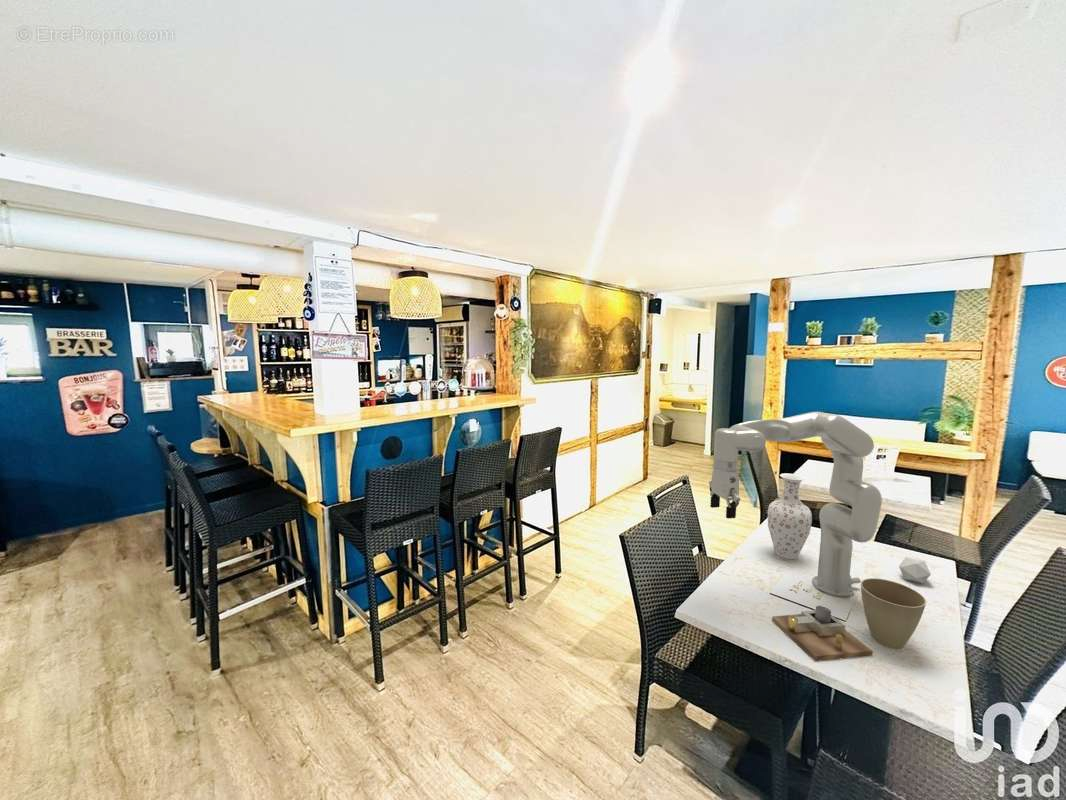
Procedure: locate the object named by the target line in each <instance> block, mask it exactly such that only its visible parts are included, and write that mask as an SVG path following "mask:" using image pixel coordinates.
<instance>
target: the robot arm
mask: <svg viewBox="0 0 1066 800" xmlns="http://www.w3.org/2000/svg"><path fill="white" fill-rule="evenodd" d="M815 437H817V438H818V437H820V438H821V442H822V444H823V445H824V446H825V448H827V450H829V452H830V453H831V455H832V459H833V467H832V473H831V478H830V481H829V482H830V483H829V489H828V490H829V495H830V496H831V498H833V499H835V500H837V501H838V502H841V503H843V504H844V505H842V504H840V503H835V502H830V503H827V504H824V505H823V506H822V507H821V508H820V511H819V525H820V542H819V544H820V545H819V554H818V555H819V556H818V563H817V564H818V567H817V568H818V569H817V575H816V576H814V577H812V580H811V583H812V585H813V587H815V588H816V589H817V590H819V591H821V592H824V593H826V594H828V595H832V596H836V597H840V598H849V597H852V596H853V595H854V592H855V591H854V588H853V586H852V585H854V584H861V581H862V580H861V579H860V578H859V577H852V576H851V564H852V555H853V547H854V546H853V542H857V543H867V542H870V541H871V540H872V539H873V537H874V536H875V534H876V533H877V532H876V531H877V528H878V523H879V520H880V519H879V517H880V514H881V509H882V503H883V502H882V501H883V497H882V493H881V492H880V490H879V489H878V487H876V486H874V485H873V484H871V483H868V482H866V481H863V471H864V460H863V458H865V457H867V456H869V455H870V454H871V453H872V452H873V450H874V446H875V444H874V440H873V439H872V437H871V436H870V434H868V433H867V432H866V431H864V430H862V429H861V428H859V427H858V426H857V425H855V424H854V423H852V422H851V421H849V420H848V419H846V418H845V417H842V416H841V415H837V414H834V413H828V412H823V411H810V412H806V413H800V414H797V415H793V416H792V415H791V416H789V417H788V416H787V417H782V418H771V419H761V420H759V419H758V420H757V419H756V420H750V421H745V422H741V423H737V424H734V425H732V426H730V427H729V428H728V427H727V428H725V427H722V428H717V429H716V430H715V432H714V442H713V443H714V447H713V465H712V468H713V469H712V473H711V481H709V482H708V485H709V491H710V508H712V509H713V508H720V504H721V499H723V500H725V503H726V505H727V506H726V508H725V509H726V510H725V518H726V519H736V516H737V515H736V514H737V508H738V506H739V504H740V501H741V496H740V482H739V480H740V479H739V471H738V463H739V462H738V461H739V460H738V458H739V451H742V452H749V453H750V452H752V453H754V452H759V451H761V450H762V449H764V447H765V446H766V445H767V444H766V443H767V441H770V442H776V443H792V442H793V443H794V442H797V441H801V440H807V439H810V438H815ZM845 504H846V505H847V506H850V507H851V508H850V507H847V506H845Z"/></svg>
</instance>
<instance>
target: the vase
mask: <svg viewBox="0 0 1066 800" xmlns="http://www.w3.org/2000/svg"><path fill="white" fill-rule="evenodd" d="M779 477H781V478H782V480H783V487H784V489H783V493H782V495H781V497H780V498H779V499H776V500H774V501H773V500H772V502H770V503H769V505H768V509H767V527H768V531H769V534H770V538H771V542H772V546H773V549H774V555H775V557H777V558H779V559H781V560H783V561H784V560H785V561H789V562H794V561H798V559H799V555H800V553H801V551H802V550H803V548H804V545H805V543H806V541H807V539H808V538H809V535H810V532H811V530H812V529H811V528H812V522H813V517H812V516H813V515H812V511H811V510H810V508H809V507H808V506H807V505H805V504H804V503H803V502H802V501H801V500H800V496H799V488H800V486H801V485H800V484H801V483H802V481H804V480H805V479H806V478H805V477H804V476H802V475H799V474H796V473H785V472H784V473H781V474H779Z"/></svg>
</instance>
